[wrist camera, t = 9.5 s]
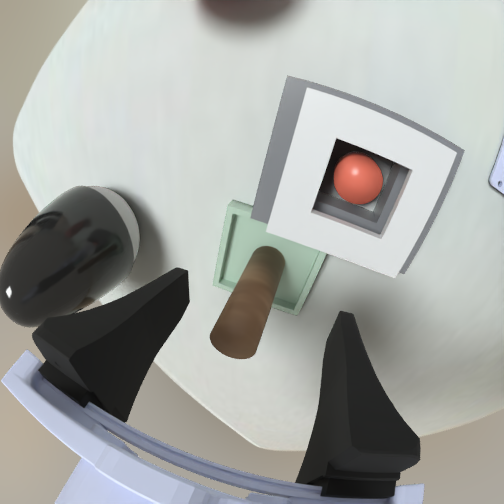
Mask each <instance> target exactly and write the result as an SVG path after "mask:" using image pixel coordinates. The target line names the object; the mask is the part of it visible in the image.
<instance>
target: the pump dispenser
mask: <svg viewBox="0 0 504 504" xmlns="http://www.w3.org/2000/svg"><path fill="white" fill-rule="evenodd" d="M139 241H140V235H139V228H138V223H137V220H136V218H135V215H134V213H133V211H132V209H131V208H130V206H129V205H128V204H127V202H126V201H125V200H124V199H123V198H122V197H121V196H119V195H118V194H117V193H115V192H114V191H112V190H110V189H107V188H104V187H99V186H88V187H87V186H76V187H73V188H71V189H69V190H67V191H66V192H64V193H63V194H61V195H60V196H58V197H57V198H56V199H55V200H53V201H52V202H51V203H50V204H48V205H47V206H46V207H45V208H44V209H43V210H42V211H41V212H40V213H39V214H38V215H37V216H36V217H35V218H34V219H33V220H32V221H31V222H30V223H29V225H28V226H27V227H26V228H25V229H24V230H23V232H22V233H21V234H20V235H19V237H18V238H17V239H16V241H15V242H14V244H13V245H12V247H11V248H10V250H9V252H8V254H7V255H6V257H5V259H4V262H3V264H2V267H1V269H0V305H1V308H2V310H3V311H4V313H5V314H6V315H7V316H8V317H9V318H10V319H11V320H12V321H13V322H15V323H16V324H18V325H21V326H24V327H39V326H40V325H41V324H42V323H43V322H44V321H45V320H46V319H47V318H49V317H57V316H64V315H69V314H74V313H76V312H78V311H79V310H82V309H83V308H85V307H87V306H89V305H90V304H92V303H94V302H95V301H97V300H99V299H100V298H102V297H103V296H104V295H106V294H107V293H109V292H110V291H111V290H113V289H114V288H116V287H117V286H118V285H119V284H120V283H122V282H123V281H124V280H125V279H126V278H127V277H128V275H129V274H130V272H131V270H132V267H133V263H134V261H135V259H136V256H137V253H138V249H139Z"/></svg>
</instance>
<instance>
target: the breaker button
mask: <svg viewBox="0 0 504 504" xmlns="http://www.w3.org/2000/svg"><path fill="white" fill-rule="evenodd" d="M382 184H383V177H382V173H381V170H380V168H379V167H378V165H377V164H376V163H375V161H374V160H373V159H372V158H371V157H370V156H368V155H367V154H365V153H362V152H349V153H346V154H344V155H343V156H341V157H340V158H339V160H338V161H337V163H336V165H335V167H334V185H335V188H336V190H337V192H338V194H339V195H340V196H341V197H342V198H343V199H344V200H346V201H348V202H350V203H353V204H365V203H368V202H370V201H372V200H373V199H375V198H376V197H377V196H378V194H379V193H380V191H381V188H382Z"/></svg>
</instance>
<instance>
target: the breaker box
mask: <svg viewBox="0 0 504 504" xmlns="http://www.w3.org/2000/svg"><path fill="white" fill-rule="evenodd" d="M336 138H337V139H340V140H343V141H345V142H348V143H351V144H353V145H356V146H358V147H361V148H363V149H366V150H368V151H371V152H373V153H376V154H378V155H380V156H383V157H385V158H387V159H389V160H392V161H394V163H393V165H392V168H391V171H390V173H389V176H388V178H387V181H386V183H385V185H384V188H383V190H382V193H381V195H380V197H379V200H378V202H377V204H376V207H375V209H374V211H373V212H372V211H369V210H367V209H364V208H362V207H359V206H357V205H354V204H352V203H349V202H346V201H344V200H341V199H338V198H336V197H333V196H330V195H328V194H325V193H322V192H319V188H320V185H321V182H322V179H323V176H324V173H325V171H326V168H327V165H328V162H329V159H330V156H331V153H332V150H333V146H334V143H335V140H336ZM464 151H465V150H463V149H461V148H460V147H458V146H457V145H455V144H453V143H452V142H450V141H448V140H447V139H445V138H443V137H441V136H440V135H438V134H436V133H434V132H433V131H431V130H429V129H427V128H425V127H423V126H421V125H419V124H417V123H415V122H413V121H411V120H409V119H407V118H405V117H403V116H401V115H399V114H397V113H395V112H392V111H390V110H388V109H386V108H383V107H381V106H379V105H376V104H374V103H371V102H369V101H366V100H364V99H361V98H358V97H356V96H353V95H350V94H348V93H345V92H342V91H339V90H336V89H333V88H330V87H327V86H324V85H320V84H317V83H314V82H310V81H307V80H303V79H299V78H295V77H292V76H287V78H286V82H285V86H284V90H283V93H282V97H281V101H280V105H279V108H278V112H277V116H276V120H275V124H274V128H273V131H272V135H271V139H270V143H269V147H268V151H267V154H266V158H265V162H264V166H263V170H262V174H261V178H260V182H259V186H258V189H257V193H256V197H255V201H254V205H253V209H252V213H251V217H250V218H251V219H254V220H257V221H260V222H263V223H266V224H268V226H267V229H266V232H268V233H271V234H274V235H277V236H279V237H282V238H285V239H288V240H291V241H294V242H297V243H299V244H302V245H305V246H308V247H311V248H313V249H316V250H319V251H322V252H324V253H327V254H330V255H333V256H335V257H338V258H341V259H344V260H346V261H349V262H352V263H355V264H357V265H360V266H363V267H365V268H368V269H371V270H373V271H376V272H379V273H381V274H384V275H386V276H389V277H392V278H394V279H395V278H396V276H397V274H398V273H399V272H400V273H402V274H405V272H406V270H407V269H408V267H409V265H410V264H411V262H412V260H413V259H414V257H415V255H416V253H417V252H418V250H419V248H420V246H421V244H422V243H423V241H424V239H425V237H426V235H427V233H428V232H429V230H430V228H431V226H432V224H433V222H434V220H435V218H436V216H437V214H438V212H439V210H440V208H441V206H442V203H443V201H444V199H445V197H446V195H447V193H448V190H449V188H450V186H451V183H452V181H453V179H454V176H455V174H456V171H457V169H458V166H459V164H460V161H461V159H462V156H463V153H464Z"/></svg>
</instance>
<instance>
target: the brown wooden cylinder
mask: <svg viewBox="0 0 504 504" xmlns="http://www.w3.org/2000/svg"><path fill="white" fill-rule="evenodd" d="M284 266H285V259H284V256H283V254H282V253H281V252H280V251H279V250H278V249H276V248H274V247H271V246H261V247H259V248H257V249H256V250H255V251H254V252H253V254H252V256H251V258H250V260H249V261H248V263H247V265H246V267H245V269H244V271H243V273H242V275H241V277H240V278H239V280H238V282H237V284H236V286H235V288H234V290H233V292H232V294H231V296H230V297H229V299H228V301H227V303H226V305H225V307H224V309H223V311H222V313H221V314H220V316H219V318H218V320H217V322H216V324H215V326H214V328H213V330H212V331H211V333H210V340H211V343H212V344H213V346H214V347H215V348H216V349H217V350H218V351H219V352H221V353H222V354H224V355H226V356H228V357H231V358H235V359H247V358H250V357H252V356H253V355H254V354H255V353H256V350H257V347H258V344H259V342H260V339H261V336H262V333H263V330H264V327H265V324H266V321H267V318H268V315H269V312H270V309H271V306H272V303H273V300H274V297H275V294H276V291H277V288H278V285H279V282H280V279H281V276H282V273H283V270H284Z"/></svg>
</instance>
